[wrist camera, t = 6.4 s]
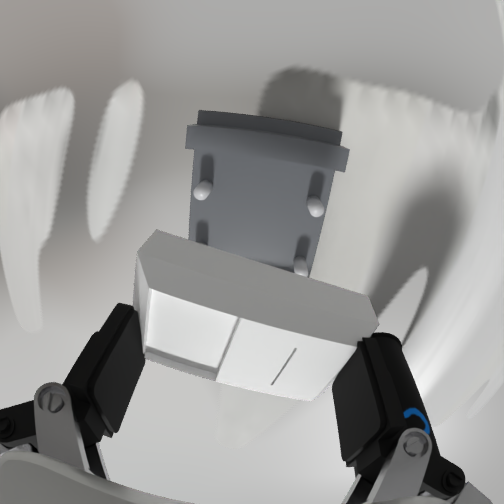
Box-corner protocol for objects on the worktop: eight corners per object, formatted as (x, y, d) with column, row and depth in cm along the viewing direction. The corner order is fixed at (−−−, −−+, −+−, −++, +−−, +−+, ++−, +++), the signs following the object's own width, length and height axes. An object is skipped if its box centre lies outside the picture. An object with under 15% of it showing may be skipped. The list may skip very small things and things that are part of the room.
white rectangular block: (317, 367, 14) (322, 409, 11) (145, 318, 13) (124, 358, 10) (368, 295, 11) (385, 340, 9) (156, 229, 10) (126, 264, 8)
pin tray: (201, 110, 18) (189, 109, 15) (338, 130, 19) (352, 134, 15) (189, 294, 26) (180, 318, 23) (296, 309, 26) (299, 335, 23)
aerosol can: (403, 364, 29) (447, 506, 12) (342, 386, 31) (363, 534, 14) (398, 320, 26) (464, 495, 8) (326, 347, 28) (351, 534, 10)
